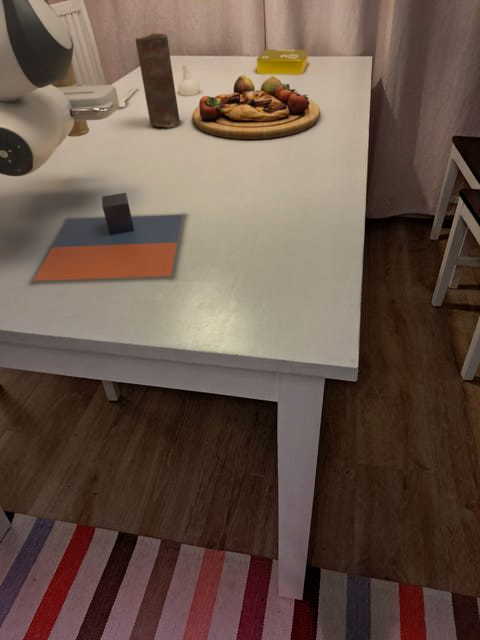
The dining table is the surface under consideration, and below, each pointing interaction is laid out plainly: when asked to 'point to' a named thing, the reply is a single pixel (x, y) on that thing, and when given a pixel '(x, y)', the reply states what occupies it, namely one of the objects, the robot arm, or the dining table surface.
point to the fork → (121, 102)
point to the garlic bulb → (188, 84)
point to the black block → (117, 213)
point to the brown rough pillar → (158, 80)
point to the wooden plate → (256, 111)
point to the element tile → (282, 62)
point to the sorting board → (113, 250)
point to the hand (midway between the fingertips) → (67, 90)
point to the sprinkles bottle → (79, 126)
